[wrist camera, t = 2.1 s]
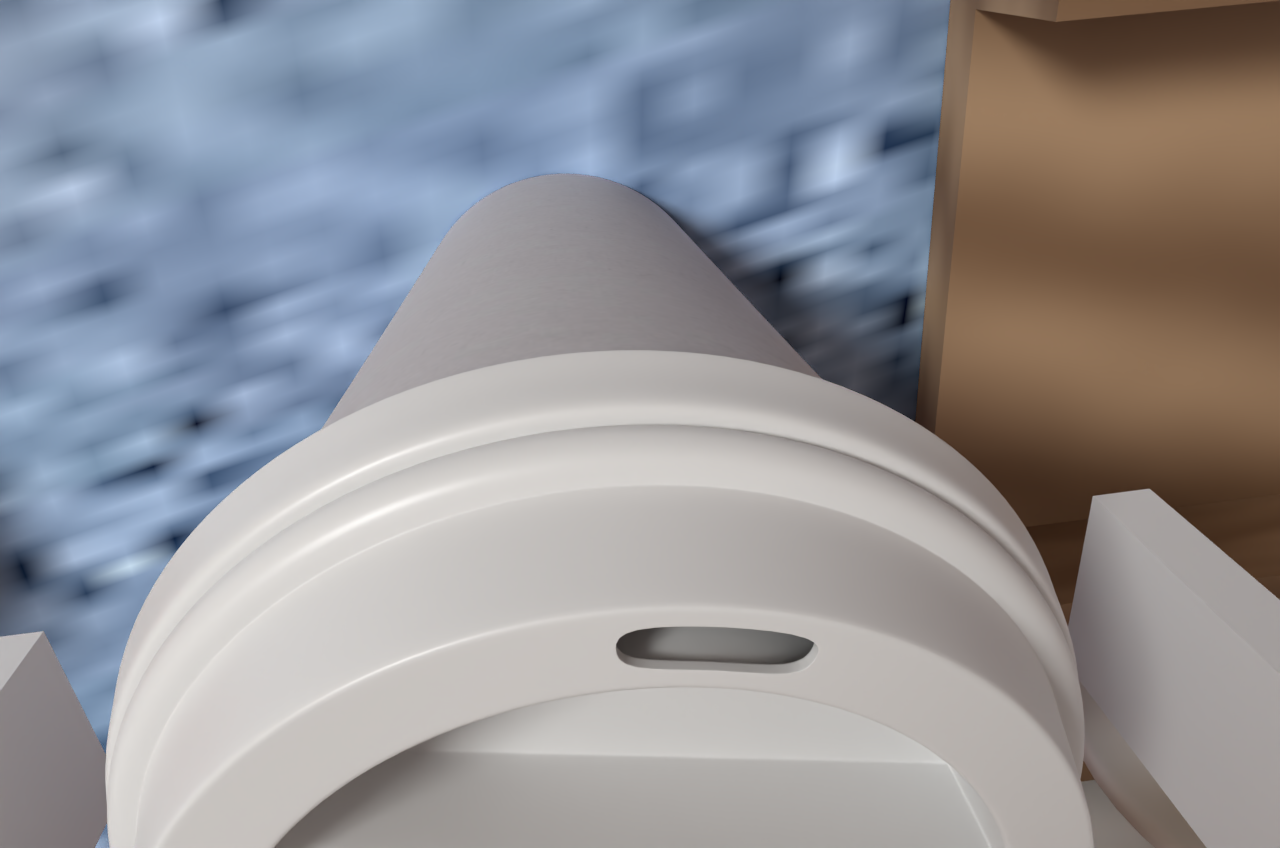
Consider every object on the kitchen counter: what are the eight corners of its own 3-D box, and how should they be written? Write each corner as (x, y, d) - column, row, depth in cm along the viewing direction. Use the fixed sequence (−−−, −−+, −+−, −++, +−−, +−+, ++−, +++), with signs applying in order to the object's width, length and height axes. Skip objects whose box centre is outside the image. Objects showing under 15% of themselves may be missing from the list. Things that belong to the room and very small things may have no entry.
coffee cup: (852, 238, 20) (1433, 773, 7) (637, 544, 24) (770, 1282, 11) (470, 0, 17) (288, 194, 4) (286, 392, 21) (-133, 1173, 8)
